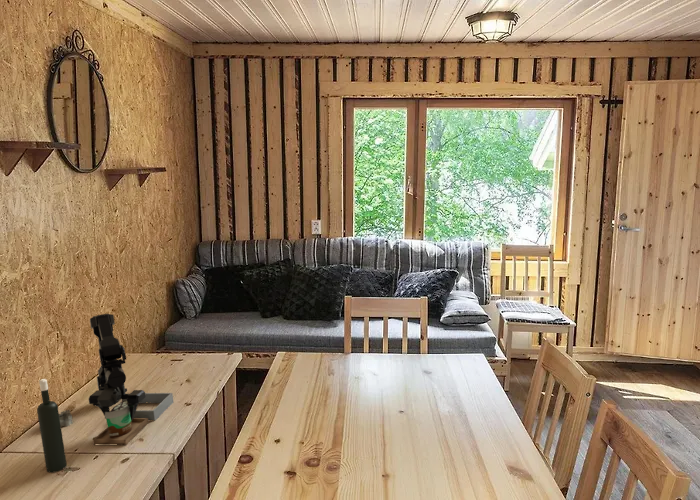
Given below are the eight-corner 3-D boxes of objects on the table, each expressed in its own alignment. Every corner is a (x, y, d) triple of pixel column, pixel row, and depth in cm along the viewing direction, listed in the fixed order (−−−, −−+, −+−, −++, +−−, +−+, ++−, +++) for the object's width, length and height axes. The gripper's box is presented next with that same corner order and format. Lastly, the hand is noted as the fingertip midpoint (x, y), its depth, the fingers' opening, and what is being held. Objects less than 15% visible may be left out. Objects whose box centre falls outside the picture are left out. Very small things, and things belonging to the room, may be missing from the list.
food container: (124, 440, 194) (120, 413, 193) (107, 440, 195) (104, 413, 194) (141, 423, 206) (138, 397, 205) (126, 423, 207) (122, 398, 206)
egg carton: (72, 418, 217) (70, 408, 217) (73, 426, 211) (72, 415, 210) (41, 426, 212) (39, 415, 212) (41, 433, 206) (39, 423, 205)
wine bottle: (45, 474, 177) (31, 384, 172) (47, 465, 182) (33, 378, 177) (66, 469, 179) (52, 380, 174) (67, 461, 184) (53, 374, 179)
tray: (93, 445, 194) (93, 439, 194) (118, 423, 210) (117, 418, 209) (126, 445, 192) (125, 439, 192) (148, 423, 208) (147, 418, 208)
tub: (117, 421, 212) (115, 411, 211) (138, 402, 228) (136, 393, 227) (154, 420, 210) (153, 410, 209) (173, 402, 226) (172, 392, 225)
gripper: (76, 387, 191) (82, 430, 194) (127, 386, 189) (133, 430, 191) (95, 375, 202) (100, 415, 204) (143, 374, 200) (148, 415, 202)
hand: (120, 419), depth 200 cm, fingers open, 9 cm apart
